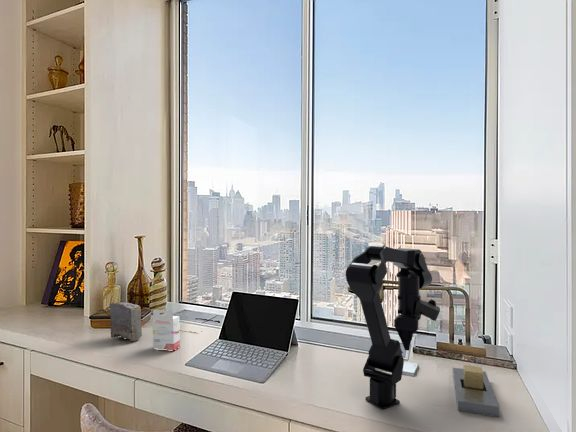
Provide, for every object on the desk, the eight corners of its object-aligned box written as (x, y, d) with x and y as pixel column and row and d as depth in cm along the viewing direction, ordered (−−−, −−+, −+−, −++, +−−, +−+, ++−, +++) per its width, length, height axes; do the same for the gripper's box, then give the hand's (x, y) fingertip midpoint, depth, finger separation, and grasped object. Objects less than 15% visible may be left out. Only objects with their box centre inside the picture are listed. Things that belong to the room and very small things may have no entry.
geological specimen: (142, 339, 152) (142, 301, 152) (130, 344, 147) (130, 304, 147) (121, 336, 156) (121, 299, 156) (109, 341, 151) (108, 302, 151)
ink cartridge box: (180, 347, 143) (180, 307, 143) (173, 352, 139) (173, 311, 138) (159, 345, 145) (159, 306, 145) (152, 350, 141) (151, 309, 140)
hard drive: (418, 363, 125) (380, 356, 131) (414, 372, 118) (373, 365, 124) (418, 368, 125) (380, 361, 131) (414, 378, 118) (373, 370, 124)
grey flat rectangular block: (498, 417, 95) (498, 406, 94) (458, 410, 98) (458, 400, 97) (485, 379, 115) (485, 371, 115) (452, 375, 118) (452, 367, 118)
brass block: (483, 399, 103) (483, 373, 103) (464, 396, 105) (464, 370, 105) (481, 392, 108) (481, 366, 108) (463, 389, 109) (463, 364, 109)
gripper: (437, 300, 102) (437, 360, 102) (438, 288, 119) (438, 339, 119) (394, 297, 106) (393, 354, 106) (401, 285, 123) (400, 334, 124)
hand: (408, 345), depth 114 cm, fingers open, 9 cm apart
